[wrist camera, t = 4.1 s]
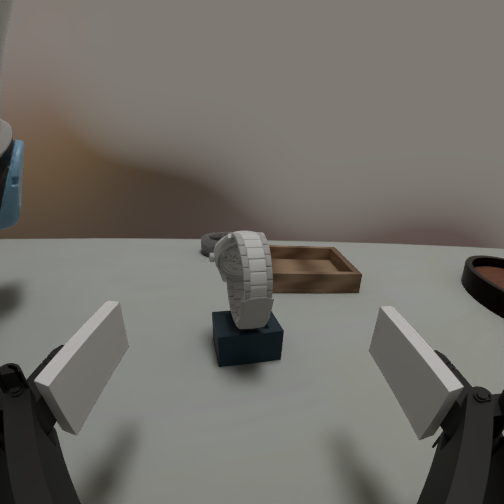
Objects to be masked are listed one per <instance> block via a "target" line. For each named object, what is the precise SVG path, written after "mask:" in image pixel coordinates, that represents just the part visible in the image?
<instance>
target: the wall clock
mask: <svg viewBox="0 0 504 504" xmlns="http://www.w3.org/2000/svg"><path fill="white" fill-rule="evenodd" d="M461 281H462V285H463V286H464V288H465V289H466V291H467V292H468V293H469V294H470V295H471V296H472V297H473V298H474V299H475V300H476V301H478V302H479V303H480V304H482V305H483V306H484V307H486V308H487V309H489V310H490V311H492V312H493V313H495V314H497V315H498V316H500V317H502V318H504V259H503V258H498V257H492V256H472V257H469V258H468V259H467V260H466V262H465V266H464V271H463V275H462V279H461Z"/></svg>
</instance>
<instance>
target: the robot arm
mask: <svg viewBox="0 0 504 504" xmlns="http://www.w3.org/2000/svg"><path fill="white" fill-rule="evenodd" d="M13 3H14V0H0V98H1V75H2V63H3V55H4V47H5V41H6V35H7V29H8V24H9V20H10V15H11V11H12V7H13ZM0 103H1V99H0ZM0 106H1V105H0ZM23 160H24V142H23V141H21V140H18V139H17V140H14V141H13V139H12V129H11V126H10V125H9V124H8V123H7V122H6V121H4V120H2V119H1V108H0V230H2V229H5V228H9V227H12V226H14V225H15V224H16V223H17V222H18V220H19V217H20V210H21V193H22V174H23ZM128 348H129V344H128V340H127V336H126V331H125V327H124V322H123V317H122V312H121V307H120V302H113V301H107V302H106V303H105V304H104V305H103V306H102V307H101V308H100V309H99V310H98V311H97V312H96V313H95V314H94V315H93V316H92V317H91V318H90V319H89V320H88V321H87V322H86V323H85V324H84V325H83V326H82V327H81V328H80V329H79V330H78V331H77V332H76V334H75V335H74V336H73V337H72V338H71V339H70V340H69V341H68V342H67V343H66V344H65V345H61V346H59V347H57V348H56V349H54V350H53V351H52V352H51V353H50V354H49V355H48V356H47V358H45V360H44V361H43V362H42V363H41V364H40V365H39V366H38V367H37V368H36V370H35V371H34V372H33V373H32V374H31V375H30V376H29V378H28V379H27V380H26V378H25V376H24V374H23V372H22V370H21V368H20V367H19V366H18V365H17V364H14V363H8V364H5V365H3V366H1V367H0V504H81V503H80V501H79V499H78V496H77V494H76V491H75V489H74V486H73V484H72V481H71V478H70V475H69V473H68V470H67V467H66V464H65V461H64V457H63V454H62V451H61V447H60V443H59V440H58V436H57V432H56V430H55V428H54V425H55V423H56V421H57V422H58V424H59V425H60V427H61V428H62V430H64V431H66V432H69V433H71V434H74V435H76V436H77V435H78V433H79V431H80V430H81V428H82V426H83V424H84V422H85V420H86V419H87V417H88V415H89V413H90V411H91V410H92V408H93V406H94V404H95V403H96V401H97V399H98V397H99V396H100V394H101V392H102V391H103V389H104V387H105V385H106V384H107V382H108V380H109V379H110V377H111V375H112V374H113V372H114V370H115V369H116V367H117V365H118V364H119V362H120V361H121V359H122V357H123V356H124V354H125V352H126V351H127V349H128ZM369 352H370V354H371V355H372V357H373V359H374V360H375V362H376V364H377V365H378V367H379V369H380V370H381V372H382V374H383V376H384V377H385V379H386V381H387V382H388V384H389V386H390V388H391V389H392V391H393V393H394V395H395V397H396V398H397V400H398V402H399V404H400V405H401V407H402V409H403V411H404V413H405V415H406V416H407V418H408V420H409V422H410V424H411V426H412V427H413V429H414V431H415V433H416V435H417V437H418V439H419V440H421V439H424V438H427V437H429V436H432V435H434V434H435V432H436V431H437V429H438V428H439V426H441V428H442V429H443V432H442V433H441V435H440V436H439V437H438V439H437V440H436V441H435V443H434V444H433V446H432V448H434V447H435V446H436V444H437V443H438V445H437V449H436V452H435V455H434V459H433V462H432V465H431V468H430V471H429V474H428V477H427V479H426V482H425V485H424V487H423V490H422V492H421V495H420V497H419V500H418V502H417V504H504V436H503V434H502V431H503V430H504V390H503V391H502V393H501V394H493V395H492V394H491V393H490V392H489V391H488V390H487V389H485V388H483V387H477V386H476V387H472V386H471V385H470V384H469V383H468V382H467V380H466V379H465V378H464V377H463V376H462V374H461V373H460V372H459V371H458V370H457V369H455V366H454V365H453V364H451V362H450V361H449V360H448V358H447V357H446V356H445V355H443V354H442V353H440V352H438V351H437V350H435V351H433V350H432V349H431V347H430V346H429V345H428V344H427V343H426V342H425V341H424V340H423V338H422V337H421V336H420V335H419V334H418V333H417V332H416V331H415V330H414V329H413V327H412V326H411V325H410V324H409V323H408V322H407V321H406V320H405V319H404V318H403V317H402V316H401V315H400V314H399V313H398V311H397V310H396V309H395V308H394V307H393V306H384V307H380V309H379V313H378V317H377V321H376V326H375V329H374V333H373V337H372V341H371V345H370V348H369Z"/></svg>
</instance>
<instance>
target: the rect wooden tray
mask: <svg viewBox="0 0 504 504" xmlns="http://www.w3.org/2000/svg"><path fill="white" fill-rule="evenodd" d="M269 248H270V255H271V262H272V266H271V267H272V274H273V279H272V280H273V289H272V293H359V289H360V283H361V278H362V274H361V273H360V272H359V271H358V270H357V269H356V268H355V267H354V266H353V265H352V264H351V263H350V262H349V261H348V260H347V259H346V258H345V257H344V256H343V255H342V254H341V253H340V252H339V251H338V250H337V249H336V248H335V247H310V246H276V245H269Z"/></svg>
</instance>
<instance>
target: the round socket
mask: <svg viewBox="0 0 504 504" xmlns="http://www.w3.org/2000/svg"><path fill="white" fill-rule="evenodd" d="M230 233H233V232H215V233H208V234H205V235H203V236H202V237H201V248H202V254H203V255H205V256H207V257H209V254H210V253H213V252H214V248H215V246H216V244H217V243H218V241H219V240H220V239H221V238H223V237H224V236H226V235H228V234H230Z"/></svg>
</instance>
